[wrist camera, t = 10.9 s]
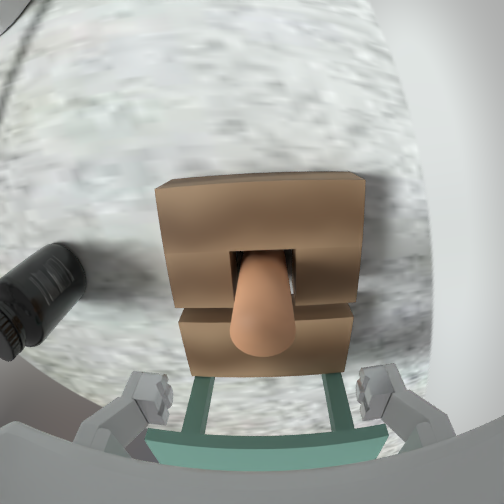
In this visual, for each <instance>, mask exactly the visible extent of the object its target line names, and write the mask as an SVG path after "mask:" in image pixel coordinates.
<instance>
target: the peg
mask: <svg viewBox="0 0 504 504" xmlns="http://www.w3.org/2000/svg"><path fill="white" fill-rule="evenodd" d="M295 335H296V327H295V319H294V312H293V305H292V298H291V291H290V284H289V278H288V271H287V264H286V258H285V253H284V250H283V249H277V250H250V251H243V255H242V260H241V266H240V272H239V278H238V284H237V290H236V295H235V301H234V307H233V313H232V319H231V325H230V337H231V339H232V341H233V343H234V344H235V346H236V347H237V348H238V349H240V350H241V351H243V352H244V353H246V354H249V355H252V356H256V357H269V356H274V355H277V354H280V353H281V352H283V351H285V350H286V349H287V348H288V347H289V346H290V345H291V344H292V343H293V341H294V339H295Z"/></svg>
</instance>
